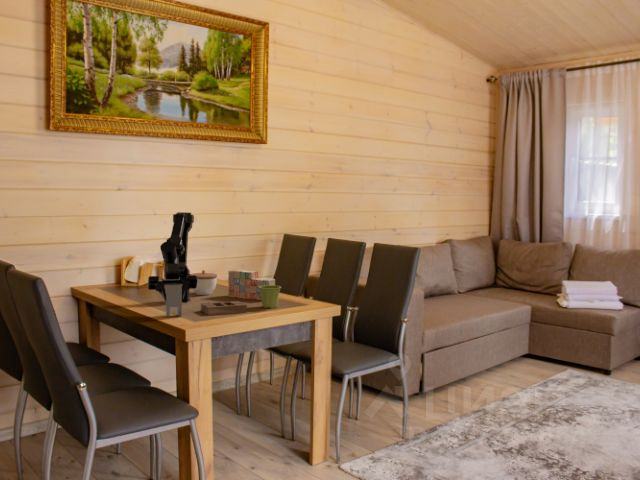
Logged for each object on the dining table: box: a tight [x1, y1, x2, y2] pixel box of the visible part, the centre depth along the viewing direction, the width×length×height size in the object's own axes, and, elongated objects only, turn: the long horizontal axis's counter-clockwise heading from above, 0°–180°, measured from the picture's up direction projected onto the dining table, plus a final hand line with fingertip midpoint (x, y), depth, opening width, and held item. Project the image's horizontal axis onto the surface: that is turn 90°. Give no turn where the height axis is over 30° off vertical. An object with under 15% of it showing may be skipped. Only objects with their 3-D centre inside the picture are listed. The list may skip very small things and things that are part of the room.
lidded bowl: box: [190, 269, 218, 296], centre depth 301 cm, size 13×13×11 cm
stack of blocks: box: [227, 269, 276, 301], centre depth 293 cm, size 21×6×12 cm, turn 65°
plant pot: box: [259, 284, 282, 309], centre depth 272 cm, size 9×9×9 cm
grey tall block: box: [165, 283, 183, 318], centre depth 249 cm, size 4×6×12 cm
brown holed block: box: [200, 300, 248, 316], centre depth 260 cm, size 10×16×3 cm, turn 117°
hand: (173, 299), depth 248 cm, fingers closed on grey tall block, 6 cm apart
